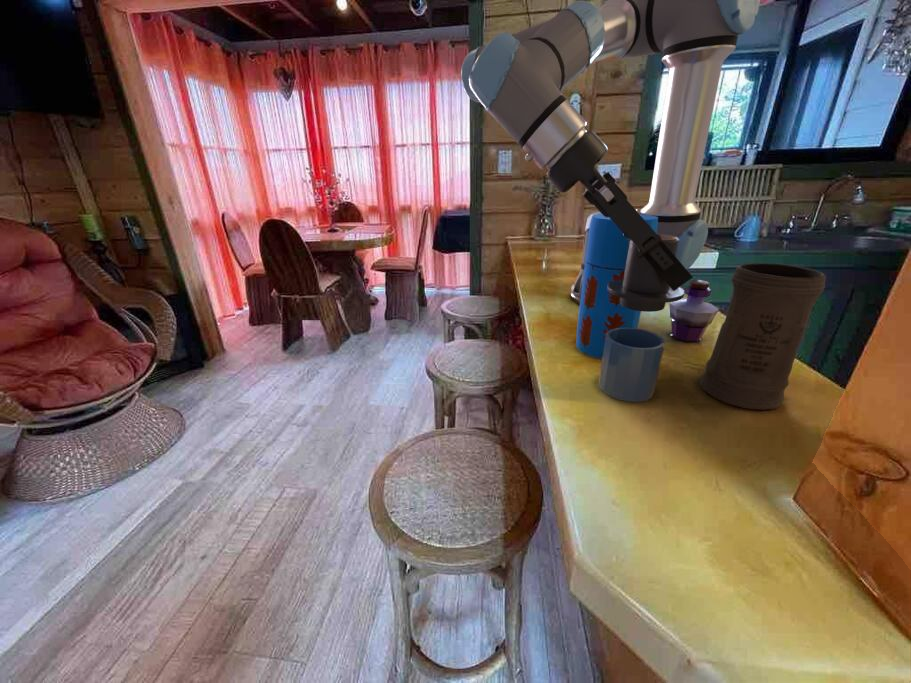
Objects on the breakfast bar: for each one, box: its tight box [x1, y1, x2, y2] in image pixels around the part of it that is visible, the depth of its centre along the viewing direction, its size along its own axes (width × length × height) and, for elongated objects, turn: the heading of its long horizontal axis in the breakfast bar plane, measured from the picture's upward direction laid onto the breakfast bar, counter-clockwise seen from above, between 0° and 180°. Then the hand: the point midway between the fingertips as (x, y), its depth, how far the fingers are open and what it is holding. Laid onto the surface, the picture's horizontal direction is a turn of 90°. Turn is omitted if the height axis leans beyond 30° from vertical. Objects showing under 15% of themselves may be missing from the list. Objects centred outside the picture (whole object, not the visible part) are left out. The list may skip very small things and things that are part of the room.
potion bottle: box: [669, 279, 720, 343], centre depth 76 cm, size 9×9×12 cm
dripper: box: [607, 234, 685, 313], centre depth 53 cm, size 10×10×10 cm
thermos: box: [575, 213, 658, 360], centre depth 69 cm, size 11×11×25 cm
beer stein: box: [699, 262, 827, 411], centre depth 57 cm, size 15×11×20 cm
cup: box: [598, 327, 666, 403], centre depth 59 cm, size 8×8×9 cm
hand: (675, 276), depth 52 cm, fingers closed on dripper, 6 cm apart
